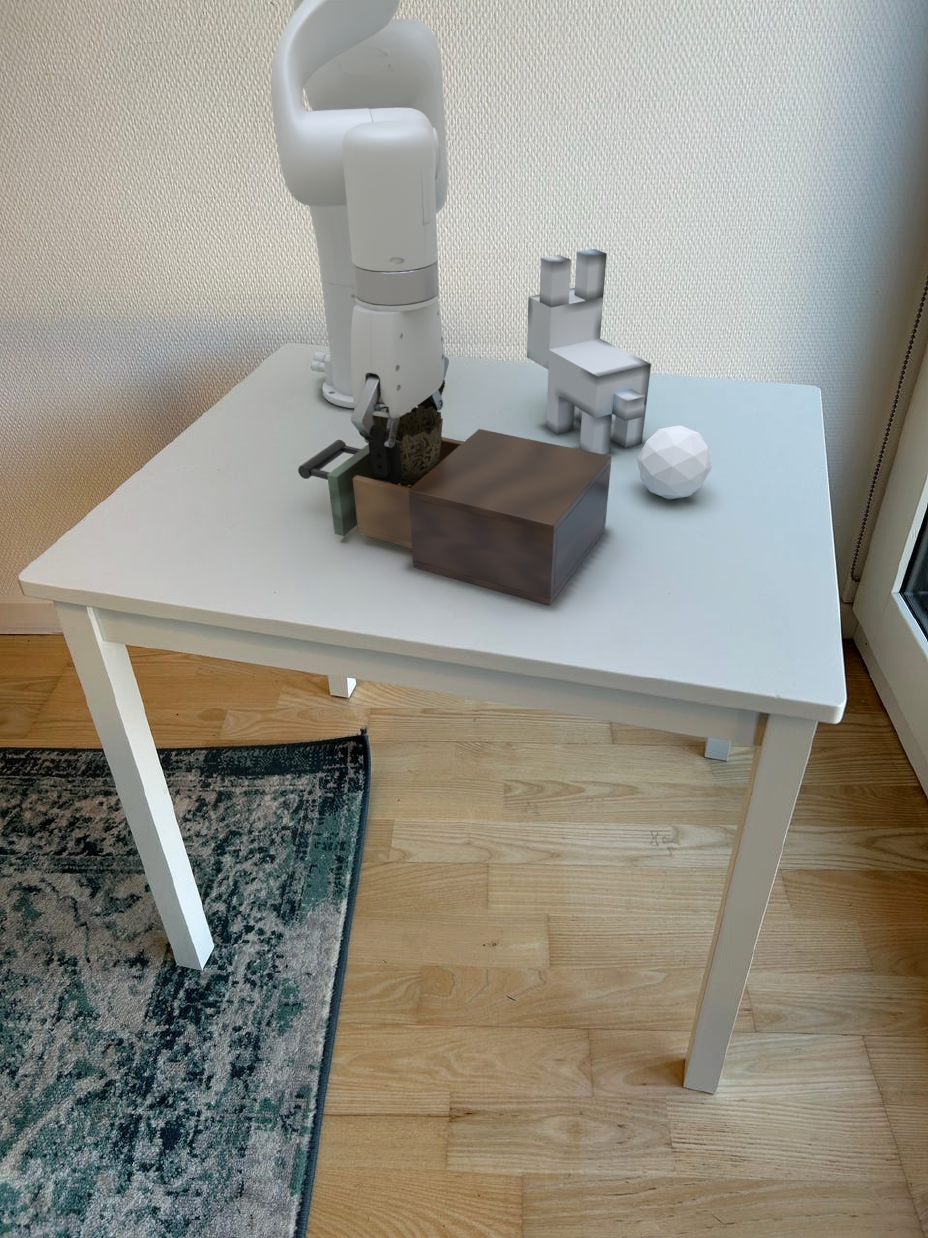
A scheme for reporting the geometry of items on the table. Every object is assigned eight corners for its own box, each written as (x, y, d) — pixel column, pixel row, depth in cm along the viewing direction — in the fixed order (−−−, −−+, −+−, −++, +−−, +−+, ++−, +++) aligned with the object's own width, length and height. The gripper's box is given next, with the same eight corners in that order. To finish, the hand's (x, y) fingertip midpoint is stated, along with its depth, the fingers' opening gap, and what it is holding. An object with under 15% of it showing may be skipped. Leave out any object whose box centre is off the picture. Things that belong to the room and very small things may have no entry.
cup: (452, 476, 91) (450, 405, 87) (436, 510, 86) (433, 436, 81) (384, 471, 93) (378, 400, 88) (364, 504, 87) (357, 430, 82)
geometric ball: (647, 511, 98) (619, 447, 97) (712, 481, 97) (684, 415, 96) (663, 512, 90) (632, 442, 89) (733, 479, 90) (703, 408, 89)
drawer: (285, 520, 91) (275, 461, 86) (355, 467, 100) (349, 411, 96) (450, 566, 83) (448, 504, 79) (509, 503, 93) (510, 445, 88)
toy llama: (604, 465, 101) (619, 290, 89) (525, 412, 113) (529, 252, 101) (654, 451, 104) (676, 279, 92) (572, 401, 116) (582, 244, 104)
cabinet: (412, 567, 85) (407, 489, 80) (479, 500, 95) (478, 428, 90) (549, 605, 79) (554, 525, 74) (604, 531, 89) (612, 455, 84)
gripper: (409, 253, 84) (418, 422, 95) (304, 304, 72) (328, 492, 83) (478, 262, 81) (479, 435, 92) (380, 316, 69) (395, 509, 80)
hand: (407, 461), depth 87 cm, fingers closed on cup, 7 cm apart
